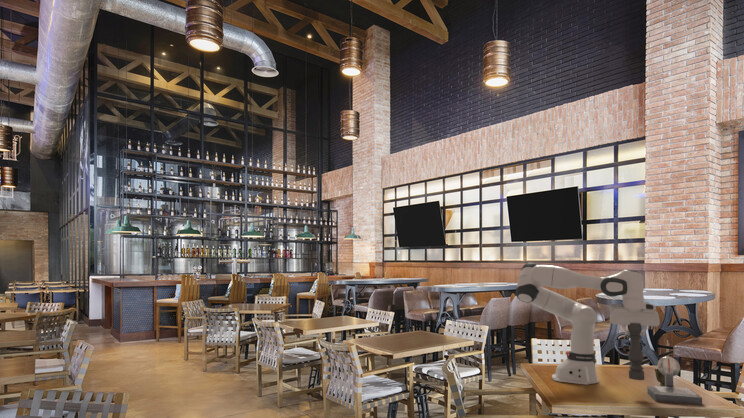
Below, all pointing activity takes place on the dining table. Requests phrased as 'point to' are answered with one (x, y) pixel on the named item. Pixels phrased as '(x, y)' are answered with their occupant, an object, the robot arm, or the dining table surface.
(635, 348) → the candle holder
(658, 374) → the cup
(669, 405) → the dining table surface
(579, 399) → the dining table surface
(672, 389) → the scale pan
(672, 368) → the scale base
